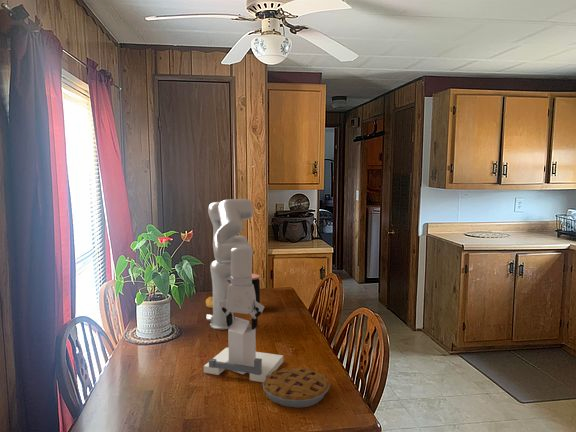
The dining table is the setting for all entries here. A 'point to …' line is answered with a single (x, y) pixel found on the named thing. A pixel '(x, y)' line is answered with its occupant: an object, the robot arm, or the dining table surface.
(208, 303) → the bagel
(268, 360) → the notched board
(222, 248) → the robot arm
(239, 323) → the milk carton
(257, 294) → the coffee jar
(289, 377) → the pie
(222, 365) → the hook rail
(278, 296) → the dining table surface
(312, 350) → the dining table surface
